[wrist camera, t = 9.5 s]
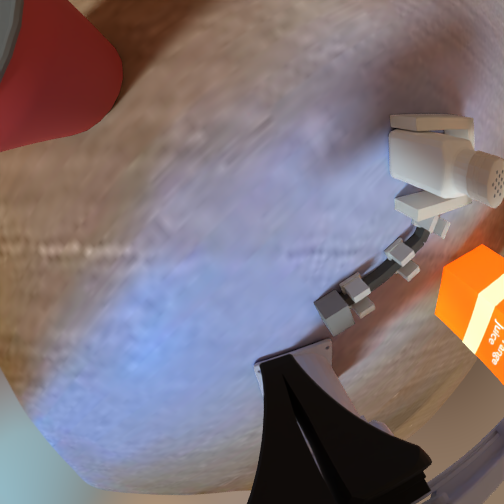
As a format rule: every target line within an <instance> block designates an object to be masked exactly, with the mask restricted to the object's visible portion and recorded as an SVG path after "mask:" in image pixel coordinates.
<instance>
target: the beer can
mask: <svg viewBox="0 0 504 504" xmlns="http://www.w3.org/2000/svg"><path fill="white" fill-rule="evenodd" d="M122 79H123V70H122V61H121V59H120V57H119V55H118V53H117V50H116V49H115V48H114V46H113V45H112V44H111V43H110V42H109V41H108V40H107V39H106V38H105V37H104V36H103V35H102V34H101V33H100V32H99V31H98V30H97V29H96V28H95V27H94V26H93V25H92V24H91V23H90V22H89V21H88V20H87V19H86V18H85V17H84V16H83V15H82V14H81V13H80V12H79V11H78V10H77V9H76V8H75V7H74V6H73V5H72V4H71V3H70V2H69V1H68V0H0V152H2V151H6V150H9V149H13V148H17V147H21V146H25V145H29V144H33V143H37V142H42V141H46V140H51V139H56V138H61V137H67V136H72V135H75V134H78V133H81V132H84V131H87V130H88V129H90V128H91V127H93V126H94V125H95V124H97V123H98V122H100V121H101V120H102V119H103V117H104V116H105V115H106V114H107V113H108V112H109V111H110V109H111V108H112V107H113V105H114V103H115V101H116V99H117V97H118V95H119V93H120V89H121V84H122Z"/></svg>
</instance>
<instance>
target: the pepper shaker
mask: <svg viewBox="0 0 504 504" xmlns="http://www.w3.org/2000/svg"><path fill="white" fill-rule="evenodd" d="M389 171H390V174H391V176H392V177H393V178H396V179H398V180H401V181H403V182H406V183H408V184H411V185H413V186H416V187H418V188H421V189H423V190H426V191H428V192H430V193H433V194H435V195H437V196H439V197H442V198H444V199H447V198H457V197H461V196H464V195H468V196H469V198H471V199H474V200H477V201H478V202H481V203H483V204H485V205H487V206H489V207H492V208H496V207H497V206H499V205H500V204H501V202H502V200H503V198H504V160H503V159H502V158H500V157H498V156H495V155H491V154H488V153H485V152H482V151H474V148H473V145H472V143H471V141H470V140H468V139H464V138H459V137H455V136H450V135H446V134H441V133H436V132H431V131H412V130H406V129H395V130H393V131H391V132H390V133H389Z"/></svg>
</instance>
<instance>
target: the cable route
mask: <svg viewBox="0 0 504 504" xmlns="http://www.w3.org/2000/svg"><path fill="white" fill-rule="evenodd" d="M429 234H430V231H428V230H426V229H424V228H423V227H420V228H419V227H417V229H416V231H415V233H414V235H413V236H412V237H411V238H410V239H409V240H408V241H407V242H405V243H404V244H405V245H407V246H408V247H410V248H411V249H412V250H414V253H416V252H417V251H418V250H419V249H420V248H421V247H422V246H423V245H424V243H423V242H425V243H426V241H427V238H428V236H429ZM401 267H402V266H401V265H399V264H398V263H397V262H396V261H394V260H393V259H392V260H391V261H390V260H388V259H387V260H386V261H385V262H384V263H383V264H382V265H381V266H379V267H378V268H377V269H376V270H375V271H374V272H372V273H371V274H369V275H368V276H366V277H365V278H363V279H362V281H363V282H364V283H365V284H366V285H367V286H368V287H369V288H370V291H371V292H372V291H373V290H375V289H376V288H377V287H379V286H380V285H382V283H384V282H385V281H386V280H388V279H389V278H390V277H391V276H392V275H393V274H394V273H395V272H396V271H397V270H398V269H400V268H401ZM354 303H355V302H354V301H353V300H352V299H351V298H350V296H349V295H348V294H347V293H346V294H345V295H344V294H343V293H341V294H338V292H337V291H336V290H333V291H332V292H330V293H329V294H327V295H325V296H324V297H322V298H321V299H319V300H317V301H316V302H314V305H315V306H316V308H317V310H318V312H319V314H320V316H321V318H322V320H323V322H324V323H325V325H326V326H327V328H328V329H329V331H330V332H331V334H332V335H333V337H335V336H336V335H338V334H340V333H341V332H343V331H344V330H346V329H347V328H349V327H351V326H352V325H354V324H355V322H354V320H353V317H352V314H351V311H350V309H349V306H351V305H352V304H354Z"/></svg>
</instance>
